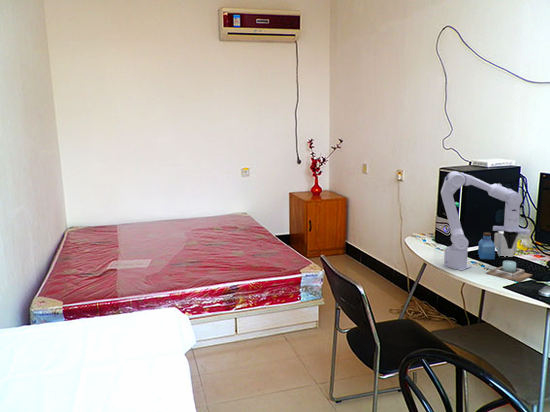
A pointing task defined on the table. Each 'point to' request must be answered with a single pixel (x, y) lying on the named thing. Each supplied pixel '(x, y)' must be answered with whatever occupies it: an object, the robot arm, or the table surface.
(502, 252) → the skincare box
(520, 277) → the collar board
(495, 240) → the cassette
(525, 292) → the table surface
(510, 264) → the light blue cup
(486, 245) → the perfume bottle
